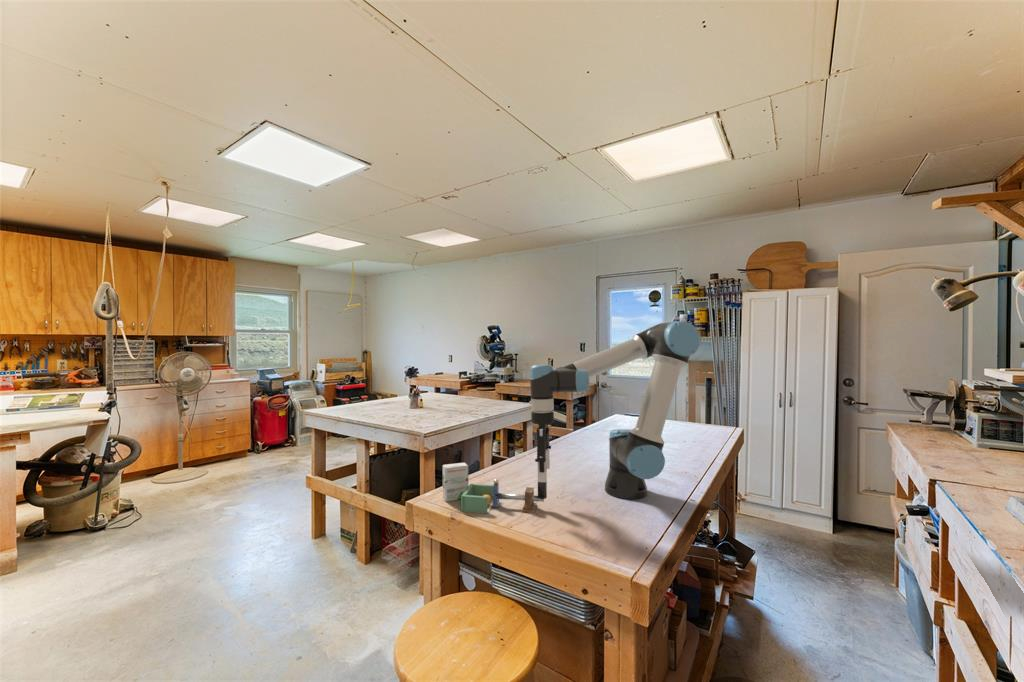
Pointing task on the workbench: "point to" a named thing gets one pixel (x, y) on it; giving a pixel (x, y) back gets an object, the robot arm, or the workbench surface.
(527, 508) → the bearing block
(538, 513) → the workbench surface
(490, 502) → the ball
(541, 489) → the u-shaped post frame
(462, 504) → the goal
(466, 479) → the ink box
